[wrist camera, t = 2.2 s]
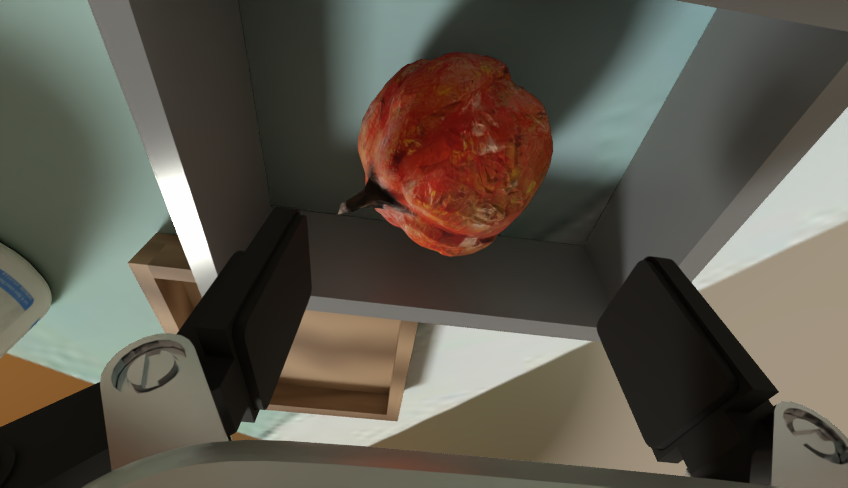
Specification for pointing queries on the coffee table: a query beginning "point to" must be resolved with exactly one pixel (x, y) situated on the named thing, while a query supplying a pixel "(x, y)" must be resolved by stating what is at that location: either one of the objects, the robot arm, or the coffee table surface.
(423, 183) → the pomegranate
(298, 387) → the tray
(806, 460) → the robot arm
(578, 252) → the grey open box
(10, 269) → the supplement tub
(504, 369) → the coffee table surface
